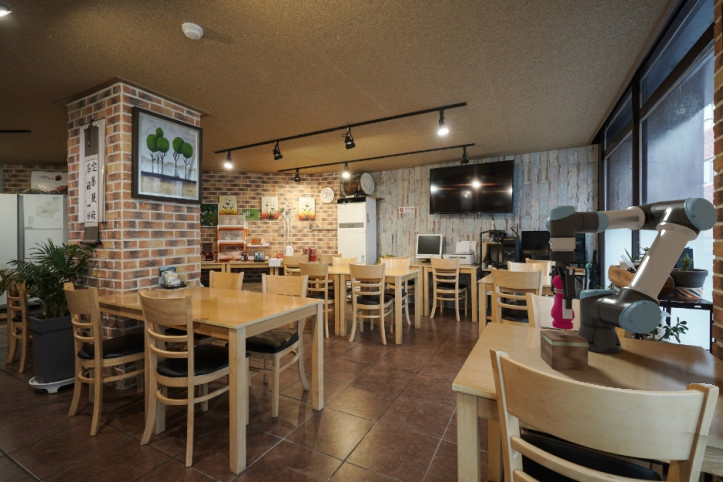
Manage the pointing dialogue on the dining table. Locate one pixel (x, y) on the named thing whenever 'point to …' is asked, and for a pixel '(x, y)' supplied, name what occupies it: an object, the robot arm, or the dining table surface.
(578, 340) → the walnut box
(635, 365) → the dining table surface
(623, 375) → the dining table surface
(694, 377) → the dining table surface
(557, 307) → the pepper mill
